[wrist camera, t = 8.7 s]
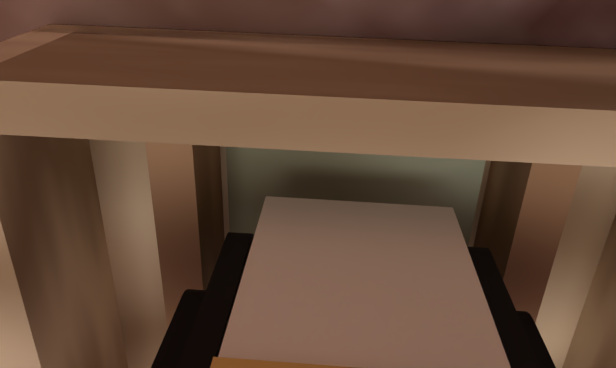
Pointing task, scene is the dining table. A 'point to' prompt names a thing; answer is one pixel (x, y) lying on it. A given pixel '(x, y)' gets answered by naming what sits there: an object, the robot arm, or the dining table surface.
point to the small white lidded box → (359, 291)
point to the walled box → (288, 171)
